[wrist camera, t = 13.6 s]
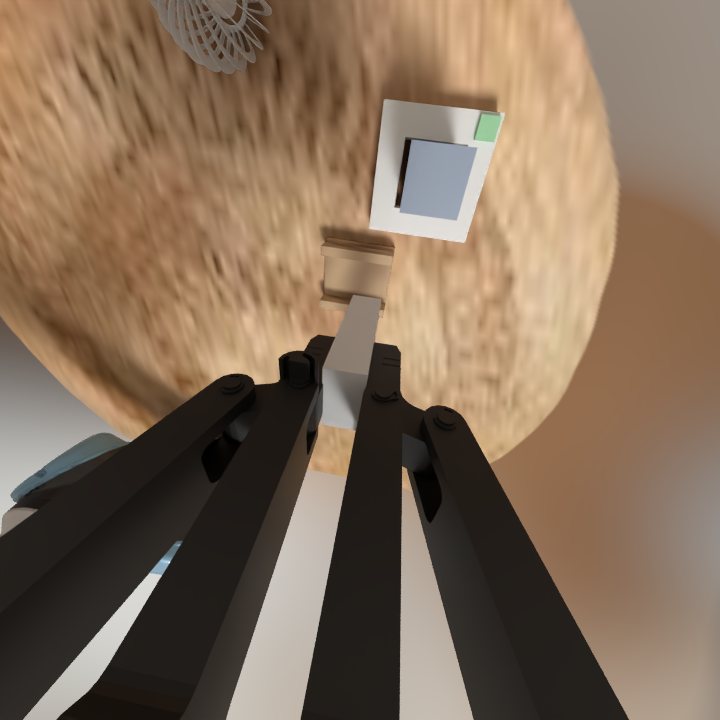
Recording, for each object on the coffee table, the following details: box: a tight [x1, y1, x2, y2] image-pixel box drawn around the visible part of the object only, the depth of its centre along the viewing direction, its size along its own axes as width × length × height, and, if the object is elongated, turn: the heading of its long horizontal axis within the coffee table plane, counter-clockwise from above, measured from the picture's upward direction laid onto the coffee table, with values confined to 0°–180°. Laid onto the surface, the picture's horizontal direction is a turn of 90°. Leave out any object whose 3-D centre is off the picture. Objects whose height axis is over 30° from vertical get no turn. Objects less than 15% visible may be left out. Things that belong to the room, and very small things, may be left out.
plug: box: [399, 140, 477, 221], centre depth 23 cm, size 4×4×12 cm
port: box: [369, 99, 505, 243], centre depth 26 cm, size 10×10×3 cm
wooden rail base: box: [320, 237, 395, 318], centre depth 33 cm, size 8×8×3 cm
